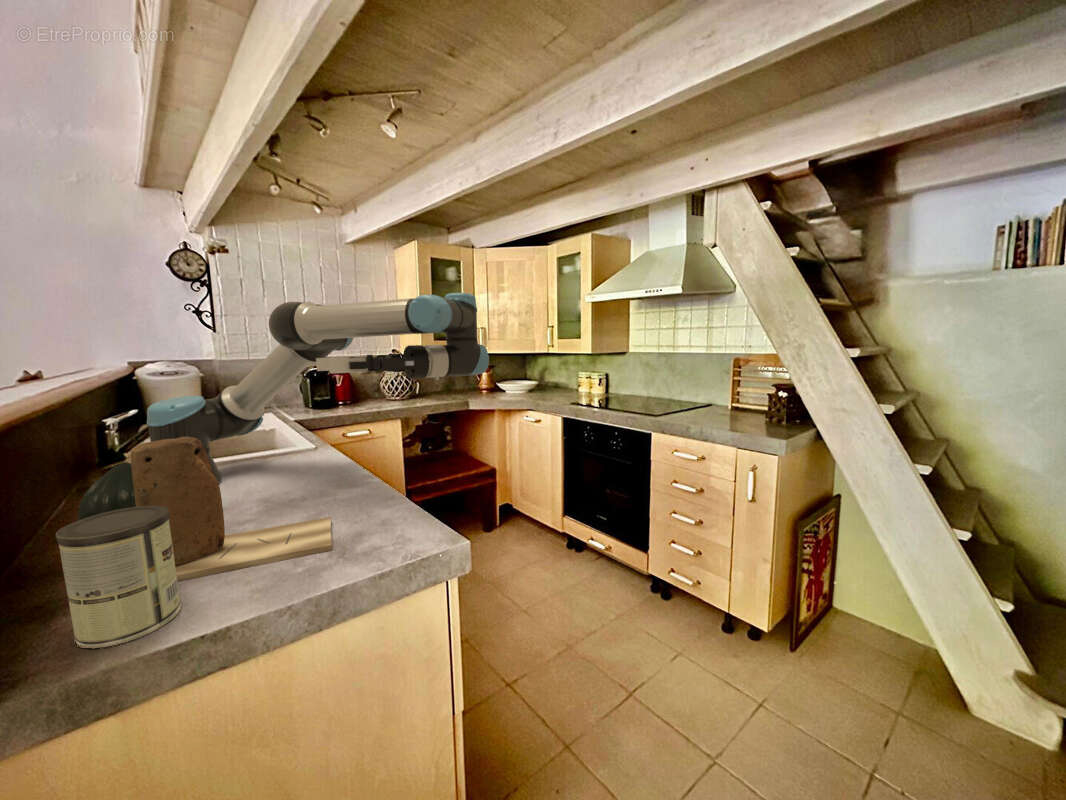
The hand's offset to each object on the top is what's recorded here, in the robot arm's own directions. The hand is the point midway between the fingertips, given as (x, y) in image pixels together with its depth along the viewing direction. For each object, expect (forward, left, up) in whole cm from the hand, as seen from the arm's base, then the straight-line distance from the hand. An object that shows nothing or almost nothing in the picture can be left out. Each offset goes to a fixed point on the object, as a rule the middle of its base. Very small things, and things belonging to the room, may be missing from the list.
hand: (322, 365), depth 85 cm
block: (+8, -23, -31) cm, 39 cm away
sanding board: (+8, -15, -32) cm, 36 cm away
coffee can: (+25, -25, -32) cm, 48 cm away
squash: (-10, -35, -32) cm, 48 cm away
